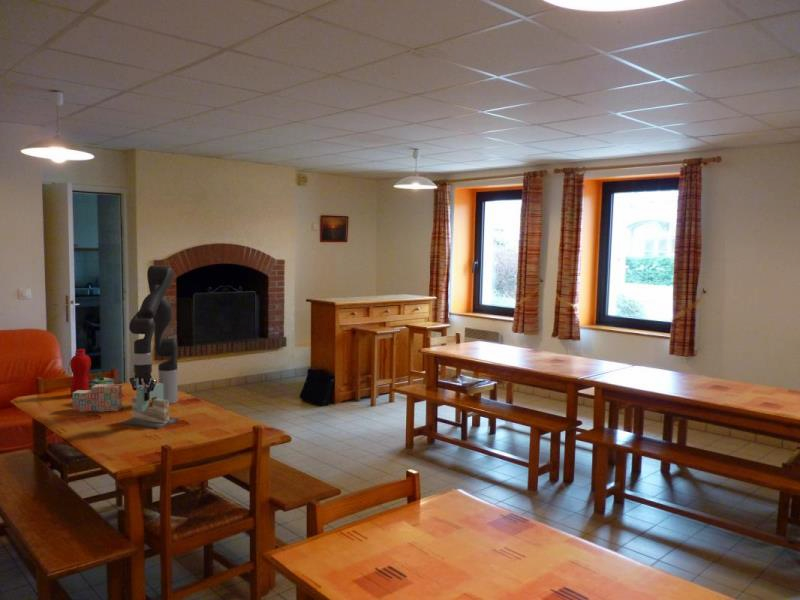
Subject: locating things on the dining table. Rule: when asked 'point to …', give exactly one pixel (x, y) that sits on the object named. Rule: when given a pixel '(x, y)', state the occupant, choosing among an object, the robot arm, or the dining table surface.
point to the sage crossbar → (154, 394)
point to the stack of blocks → (98, 398)
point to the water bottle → (80, 371)
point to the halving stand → (151, 415)
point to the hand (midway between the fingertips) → (143, 400)
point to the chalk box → (100, 381)
